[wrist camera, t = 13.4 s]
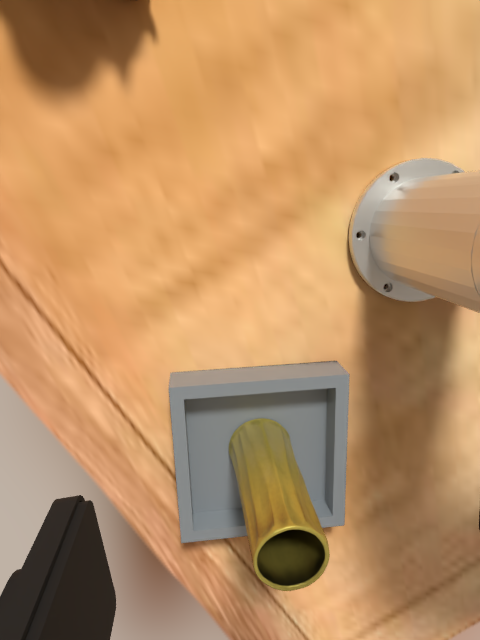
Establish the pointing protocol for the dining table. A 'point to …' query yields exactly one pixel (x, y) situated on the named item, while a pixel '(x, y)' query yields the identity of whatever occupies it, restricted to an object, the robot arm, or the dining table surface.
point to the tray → (242, 406)
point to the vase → (277, 507)
